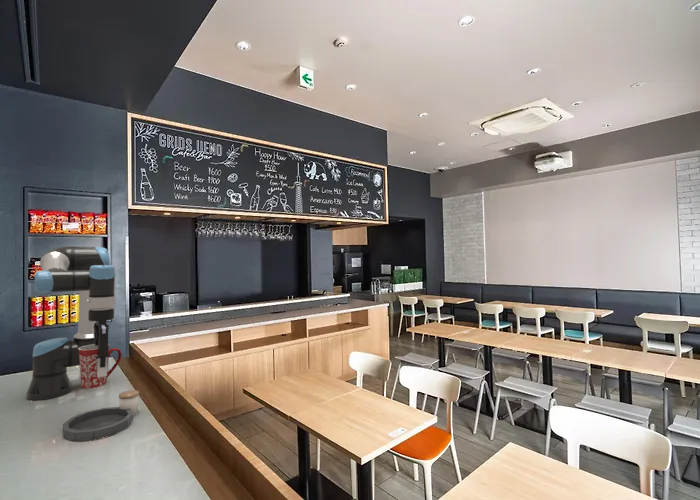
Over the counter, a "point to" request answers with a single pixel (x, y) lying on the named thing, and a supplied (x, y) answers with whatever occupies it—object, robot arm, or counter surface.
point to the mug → (93, 366)
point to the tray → (97, 424)
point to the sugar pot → (129, 400)
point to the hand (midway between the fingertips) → (100, 373)
